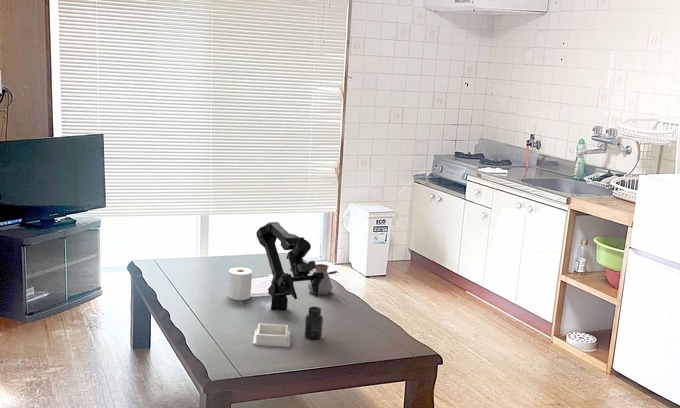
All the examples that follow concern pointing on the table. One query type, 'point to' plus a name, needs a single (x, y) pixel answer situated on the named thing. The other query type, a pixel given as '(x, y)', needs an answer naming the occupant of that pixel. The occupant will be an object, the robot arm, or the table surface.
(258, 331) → the holder
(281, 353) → the table surface
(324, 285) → the coffee pot
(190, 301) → the table surface
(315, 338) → the supplement bottle
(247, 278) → the toilet paper
